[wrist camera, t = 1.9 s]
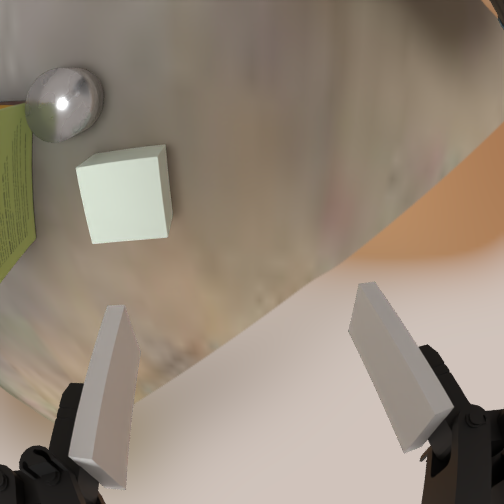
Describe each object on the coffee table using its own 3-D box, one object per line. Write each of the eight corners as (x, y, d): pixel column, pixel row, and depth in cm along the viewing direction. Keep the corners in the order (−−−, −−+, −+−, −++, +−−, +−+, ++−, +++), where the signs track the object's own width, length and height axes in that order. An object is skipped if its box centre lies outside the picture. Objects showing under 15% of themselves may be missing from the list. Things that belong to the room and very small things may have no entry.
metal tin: (42, 77, 22) (21, 79, 18) (102, 61, 22) (86, 59, 19) (49, 139, 25) (30, 149, 22) (107, 127, 26) (93, 135, 22)
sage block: (94, 153, 27) (75, 168, 23) (165, 143, 27) (157, 156, 23) (106, 220, 30) (92, 243, 26) (173, 213, 31) (167, 237, 27)
